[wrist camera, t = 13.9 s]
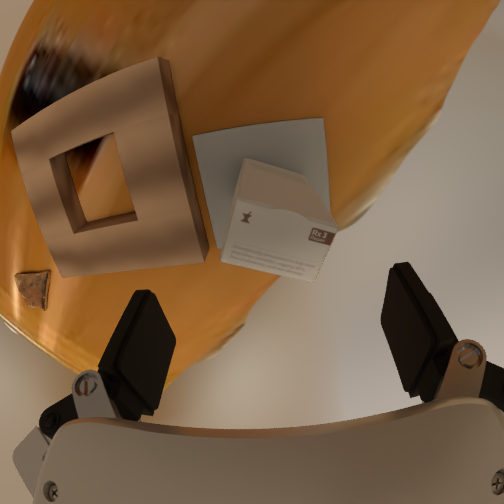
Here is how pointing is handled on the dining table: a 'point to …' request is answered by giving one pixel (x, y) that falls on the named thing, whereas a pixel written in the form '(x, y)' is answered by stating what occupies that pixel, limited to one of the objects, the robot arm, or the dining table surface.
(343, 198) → the dining table surface
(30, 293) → the shard
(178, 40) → the dining table surface
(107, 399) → the robot arm
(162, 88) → the walnut holder
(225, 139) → the grey mat
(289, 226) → the skincare box
